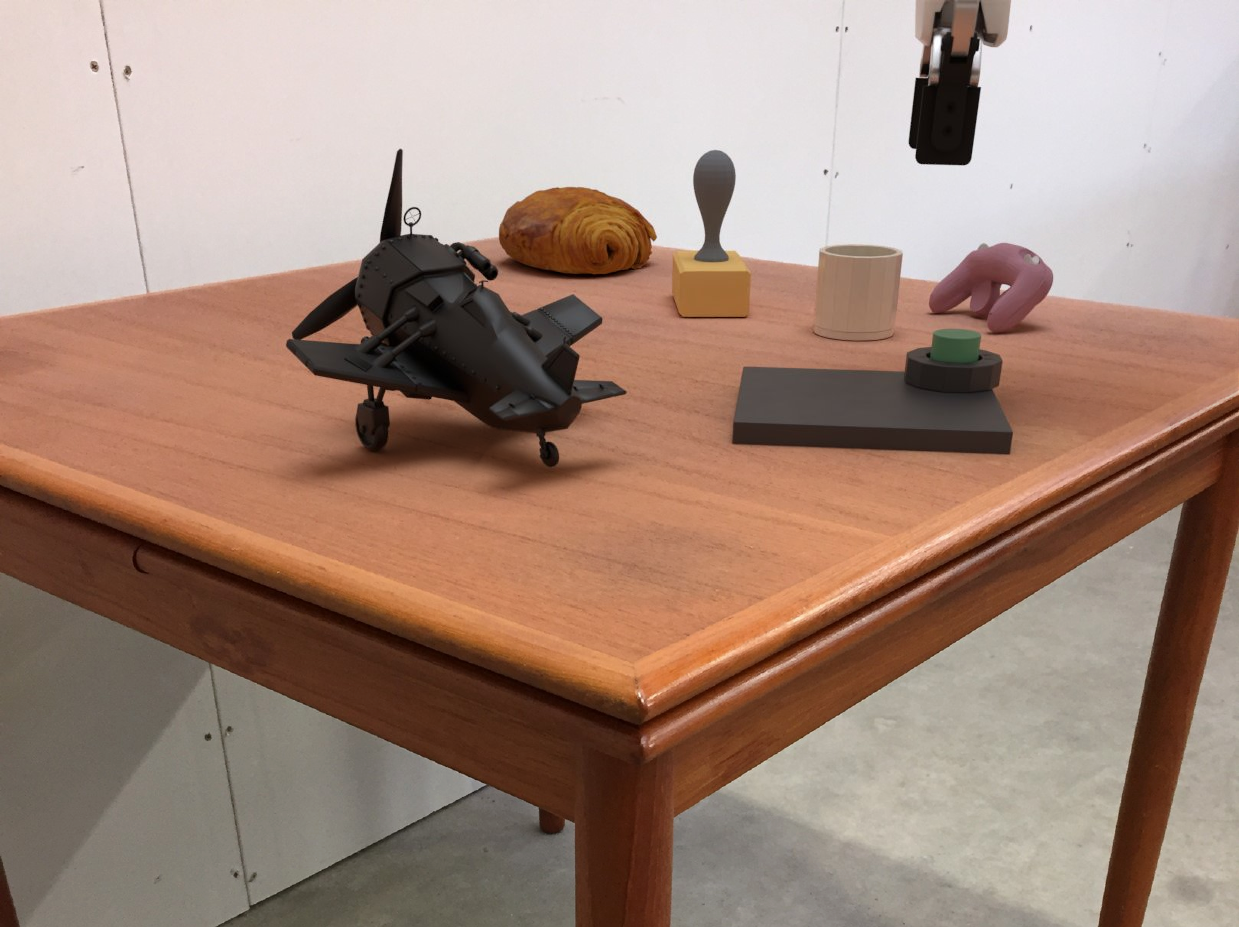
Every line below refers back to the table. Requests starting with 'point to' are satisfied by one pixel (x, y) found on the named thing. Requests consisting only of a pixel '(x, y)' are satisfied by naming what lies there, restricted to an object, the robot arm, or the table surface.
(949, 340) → the tare button
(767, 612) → the table surface
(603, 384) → the airplane toy
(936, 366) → the scale
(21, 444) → the table surface
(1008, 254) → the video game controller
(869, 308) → the cup
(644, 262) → the croissant
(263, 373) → the table surface
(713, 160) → the rubber stamp
